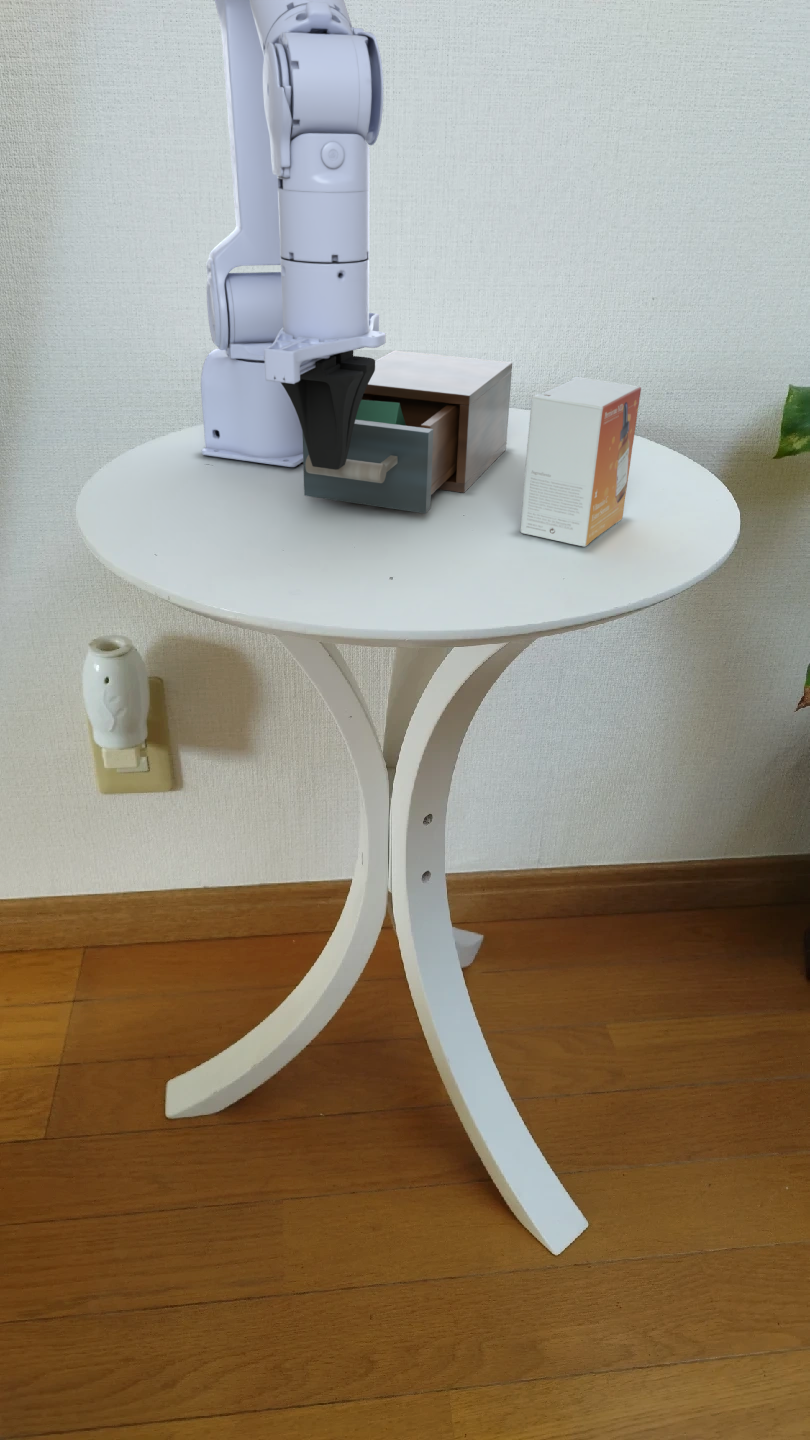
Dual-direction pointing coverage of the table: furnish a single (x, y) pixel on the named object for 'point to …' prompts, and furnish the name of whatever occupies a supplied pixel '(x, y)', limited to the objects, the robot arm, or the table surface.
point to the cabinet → (454, 402)
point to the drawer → (393, 458)
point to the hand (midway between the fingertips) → (328, 465)
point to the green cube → (380, 412)
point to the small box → (578, 459)
